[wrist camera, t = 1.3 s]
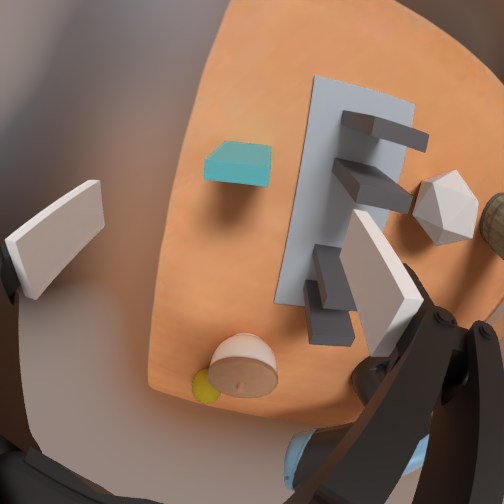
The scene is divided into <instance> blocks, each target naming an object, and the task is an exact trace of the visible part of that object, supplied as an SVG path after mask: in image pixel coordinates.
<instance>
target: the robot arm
mask: <svg viewBox="0 0 504 504" xmlns="http://www.w3.org/2000/svg"><path fill="white" fill-rule="evenodd" d="M104 226H105V222H104V215H103V207H102V197H101V187H100V180H88V181H86V182H85V183H83V184H82V185H80V186H78V187H77V188H75V189H74V190H72V191H70V192H69V193H67V194H66V195H64V196H63V197H61V198H60V199H58V200H57V201H55V202H54V203H52V204H51V205H50V206H49V207H47V208H45V209H44V210H42V211H41V212H40V213H38V214H37V215H36V216H34V217H33V218H32V219H30V220H29V221H28V222H26V223H25V224H24V225H22V226H21V227H20V228H19V229H17V230H16V231H15V232H14V233H12V234H11V235H10V236H9V237H7V238H6V239H5V243H4V244H3V245H2V246H0V504H163V503H158V502H155V501H151V500H148V499H140V498H129V497H120V496H115V495H113V494H112V493H110V492H109V491H107V490H106V489H104V488H103V487H101V486H99V485H98V484H96V483H94V482H92V481H90V480H88V479H86V478H84V477H82V476H80V475H78V474H77V473H75V472H73V471H71V470H69V469H68V468H66V467H65V466H63V465H61V464H60V463H58V462H56V461H54V460H52V459H50V458H49V457H47V456H45V455H44V454H42V451H41V450H40V447H39V445H38V444H37V442H36V441H35V439H34V438H33V437H32V434H31V432H30V429H29V424H28V420H27V415H26V409H25V404H24V397H23V389H22V382H21V373H20V360H19V339H18V338H19V337H18V315H19V294H18V292H17V288H18V287H19V286H20V285H21V287H22V289H23V292H24V294H25V296H27V297H29V298H32V299H35V300H37V298H38V297H39V296H40V295H41V294H42V292H43V291H44V290H45V289H46V288H47V286H48V285H49V284H50V283H51V282H52V281H53V280H54V278H55V277H56V276H57V275H58V274H59V273H60V272H61V271H62V270H63V268H64V267H65V266H66V265H67V264H68V263H69V262H70V261H71V260H72V259H73V257H75V255H76V254H77V253H78V252H79V251H80V250H81V249H82V248H83V247H84V246H85V245H86V244H87V243H88V242H89V241H90V240H91V239H92V238H93V237H94V236H95V235H96V234H97V233H98V232H99V231H100V230H101V229H102V228H103V227H104ZM339 257H340V260H341V263H342V265H343V268H344V271H345V274H346V277H347V280H348V283H349V286H350V289H351V292H352V295H353V298H354V301H355V305H356V308H357V311H358V314H359V318H360V321H361V324H362V328H363V331H364V334H365V338H366V342H367V345H368V349H369V352H370V357H368V358H367V359H365V360H364V361H363V362H361V363H360V364H359V365H358V366H357V368H356V369H355V370H354V372H353V374H352V382H353V388H354V390H355V392H356V393H357V395H358V397H359V398H360V400H361V402H362V403H363V405H364V406H365V409H364V410H363V412H362V413H361V414H360V416H359V417H358V419H357V420H356V421H355V422H353V423H348V424H343V425H338V426H333V427H327V428H321V429H320V428H316V429H314V430H310V431H305V432H300V433H298V434H296V435H295V436H294V437H293V438H292V439H291V441H290V443H289V445H288V448H287V451H286V456H285V462H284V475H285V477H284V482H285V485H286V487H287V488H288V489H291V490H295V493H294V494H293V495H292V496H291V497H290V498H289V499H288V500H287V501H286V502H284V503H283V504H384V503H385V502H386V500H387V499H388V497H389V495H390V494H391V492H392V491H393V489H394V487H395V486H396V484H397V483H398V481H399V479H400V478H401V476H404V475H406V474H408V473H410V472H412V471H414V470H416V469H418V468H420V467H422V466H423V467H422V471H421V474H420V478H419V482H418V485H417V489H416V492H415V495H414V498H413V501H412V504H502V502H503V496H504V369H503V362H502V357H501V351H500V346H499V341H498V337H497V335H496V332H495V331H494V330H493V328H492V326H490V325H489V324H488V323H485V322H484V321H480V320H478V321H475V322H474V323H473V325H472V326H471V328H470V329H469V330H468V329H465V328H462V327H459V326H457V322H456V319H455V318H454V317H453V315H452V314H451V313H450V312H448V311H447V310H446V309H444V308H441V307H438V306H435V305H434V304H433V302H432V300H431V298H430V297H429V295H428V293H427V292H426V290H425V288H424V287H423V285H422V283H421V282H420V281H419V279H418V277H417V275H416V274H415V272H414V271H413V270H412V269H411V268H410V267H409V266H408V265H407V264H406V263H402V262H401V261H400V259H399V258H398V256H397V255H396V253H395V251H394V250H393V248H392V247H391V245H390V244H389V242H388V241H387V239H386V238H385V236H384V235H383V233H382V232H381V231H380V229H379V228H378V226H377V225H376V223H375V222H374V220H373V219H372V218H371V216H370V215H369V214H368V212H366V211H361V210H356V209H353V212H352V216H351V219H350V223H349V226H348V230H347V233H346V236H345V240H344V243H343V246H342V250H341V253H340V256H339ZM395 346H396V347H395ZM467 379H468V380H467ZM432 411H433V415H432Z"/></svg>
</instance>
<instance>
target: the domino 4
mask: <svg viewBox="0 0 504 504" xmlns="http://www.w3.org/2000/svg"><path fill="white" fill-rule="evenodd" d="M332 172H333V173H334V175H335V176H336V177H337V179H338V180H339V181H340V183H341V184H342V185H343V187H344V188H345V189H346V191H347V192H348V193H349V195H350V196H351V197H352V199H353V200H354V202H355V203H358V204H363V205H368V206H373V207H377V208H382V209H387V210H391V211H396V212H400V213H405V214H408V212H409V209H410V206H411V202H412V199H413V196H412V195H410V194H409V193H408V192H407V191H406V190H404V189H403V188H402V187H401V186H399V185H398V184H397V183H396V182H394V181H393V180H392V179H391V178H389V177H388V176H387V175H386V174H384V173H383V172H382V171H380V170H379V169H378V168H376V167H375V166H371V165H366V164H362V163H358V162H353V161H349V160H344V159H340V158H335V157H334V162H333V167H332Z"/></svg>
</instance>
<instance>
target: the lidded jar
mask: <svg viewBox="0 0 504 504" xmlns="http://www.w3.org/2000/svg"><path fill="white" fill-rule="evenodd" d="M207 379H208V382H209V383H210V385H211V386H212V387H213V388H215V389H216V390H217V391H219V392H221V393H223V394H226V395H229V396H232V397H237V398H257V397H262V396H264V395H267V394H269V393H271V392H272V391H273V390H274V389H275V388H276V386H277V384H278V376H277V363H276V359H275V355H274V353H273V351H272V349H271V348H270V346H269V345H268V344H267V343H266V342H265V341H263V340H262V339H261V338H260V337H258V336H257V335H254V334H251V333H238V334H235V335H233V336H232V337H229V338H227V339H226V340H224V341H223V342H222V343H221V344H220V345H219V346H218V347H217V349H216V350H215V352H214V354H213V356H212V359H211V363H210V367H209V369H208V373H207Z"/></svg>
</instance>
